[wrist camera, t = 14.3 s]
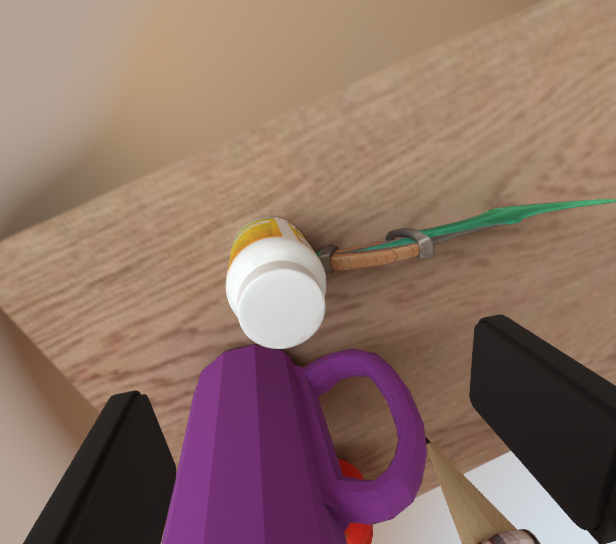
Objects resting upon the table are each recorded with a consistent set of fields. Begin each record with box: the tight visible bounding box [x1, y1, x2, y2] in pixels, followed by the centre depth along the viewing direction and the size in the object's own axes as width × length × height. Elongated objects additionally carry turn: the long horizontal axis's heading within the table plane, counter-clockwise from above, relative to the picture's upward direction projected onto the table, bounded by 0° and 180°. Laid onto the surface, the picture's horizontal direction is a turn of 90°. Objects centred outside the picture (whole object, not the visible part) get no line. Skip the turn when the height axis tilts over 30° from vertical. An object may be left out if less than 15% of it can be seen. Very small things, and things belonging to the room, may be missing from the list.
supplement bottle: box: [226, 217, 326, 349], centre depth 18 cm, size 5×5×10 cm
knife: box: [316, 199, 616, 274], centre depth 22 cm, size 21×2×5 cm, turn 102°
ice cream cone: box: [425, 437, 540, 544], centre depth 25 cm, size 6×6×15 cm
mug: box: [162, 344, 427, 544], centre depth 20 cm, size 9×16×15 cm, turn 115°
